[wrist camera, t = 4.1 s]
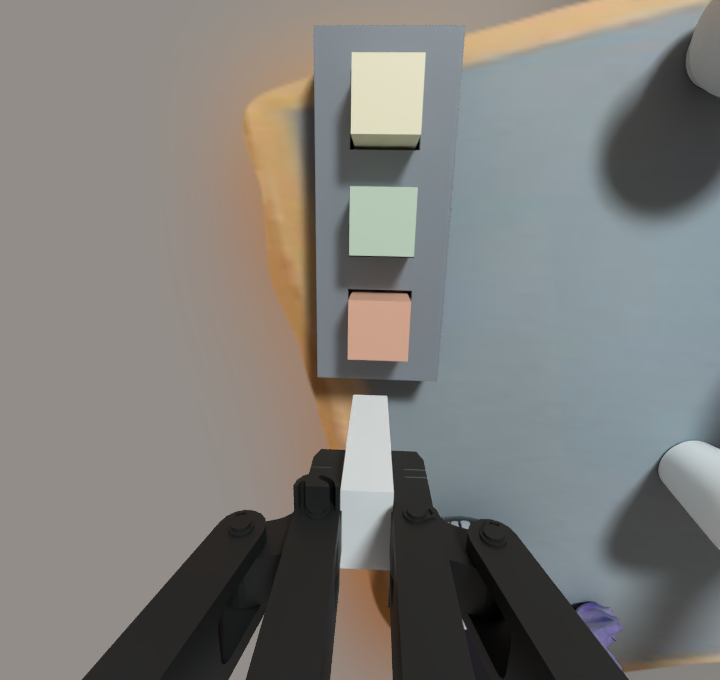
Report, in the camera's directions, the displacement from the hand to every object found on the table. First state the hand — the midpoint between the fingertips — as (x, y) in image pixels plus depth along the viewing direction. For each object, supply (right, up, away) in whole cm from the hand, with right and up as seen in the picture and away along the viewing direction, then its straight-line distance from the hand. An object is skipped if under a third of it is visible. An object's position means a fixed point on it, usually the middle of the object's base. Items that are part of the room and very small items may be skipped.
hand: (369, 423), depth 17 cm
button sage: (+2, +15, +20) cm, 25 cm away
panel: (+2, +16, +22) cm, 27 cm away
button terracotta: (+1, +6, +22) cm, 23 cm away
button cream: (+2, +24, +17) cm, 29 cm away
